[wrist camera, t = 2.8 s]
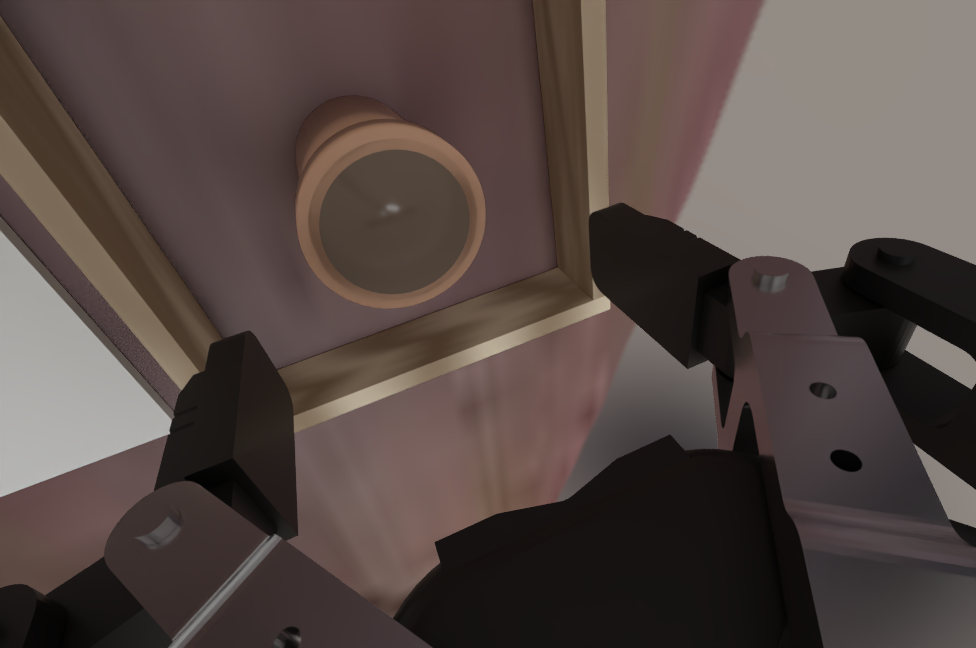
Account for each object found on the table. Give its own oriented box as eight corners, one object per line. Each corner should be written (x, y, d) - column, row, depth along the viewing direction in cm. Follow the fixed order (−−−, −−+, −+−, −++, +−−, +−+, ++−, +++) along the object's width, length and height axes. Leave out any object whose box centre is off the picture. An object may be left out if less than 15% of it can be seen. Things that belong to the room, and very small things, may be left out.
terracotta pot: (320, 240, 22) (341, 334, 16) (261, 109, 18) (258, 163, 12) (436, 201, 23) (500, 275, 17) (402, 71, 19) (466, 102, 13)
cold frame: (240, 399, 25) (231, 509, 19) (-127, -100, 13) (-427, -178, 7) (573, 275, 28) (643, 339, 23) (539, -204, 16) (671, -308, 11)
